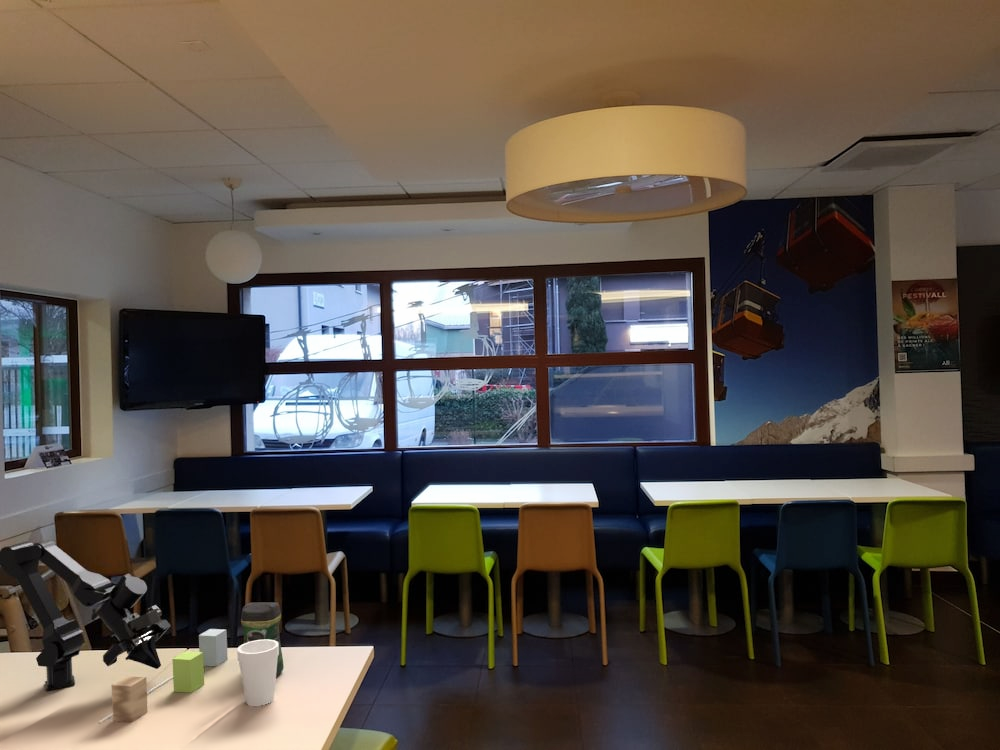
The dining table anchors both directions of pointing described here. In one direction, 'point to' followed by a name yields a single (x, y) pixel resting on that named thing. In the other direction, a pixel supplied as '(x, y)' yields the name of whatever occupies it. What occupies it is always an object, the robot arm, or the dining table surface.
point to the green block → (188, 671)
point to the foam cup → (258, 670)
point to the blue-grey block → (213, 646)
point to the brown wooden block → (129, 698)
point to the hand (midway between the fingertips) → (159, 667)
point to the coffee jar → (263, 625)
